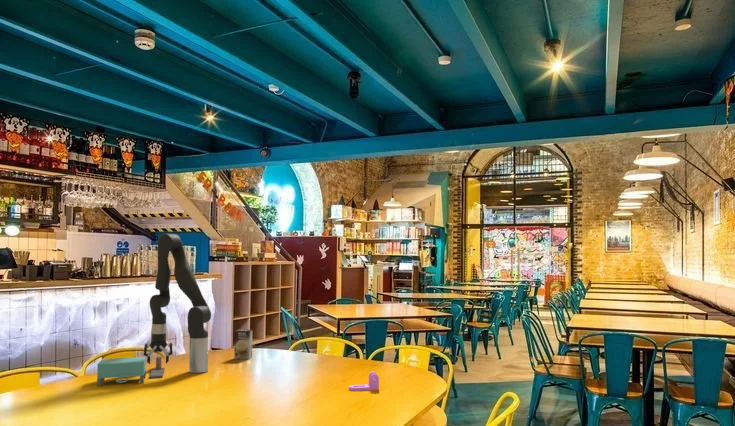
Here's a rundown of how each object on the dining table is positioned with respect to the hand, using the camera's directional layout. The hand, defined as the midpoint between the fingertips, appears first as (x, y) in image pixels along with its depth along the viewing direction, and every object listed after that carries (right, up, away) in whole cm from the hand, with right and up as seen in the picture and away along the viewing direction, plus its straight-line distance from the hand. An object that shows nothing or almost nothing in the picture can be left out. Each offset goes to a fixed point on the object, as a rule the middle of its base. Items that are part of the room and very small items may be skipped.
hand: (157, 363), depth 312 cm
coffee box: (+39, -4, +28) cm, 48 cm away
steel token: (-6, -1, -31) cm, 31 cm away
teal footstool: (-6, -1, -31) cm, 31 cm away
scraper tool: (+3, -2, -10) cm, 11 cm away
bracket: (+109, +1, -49) cm, 119 cm away
